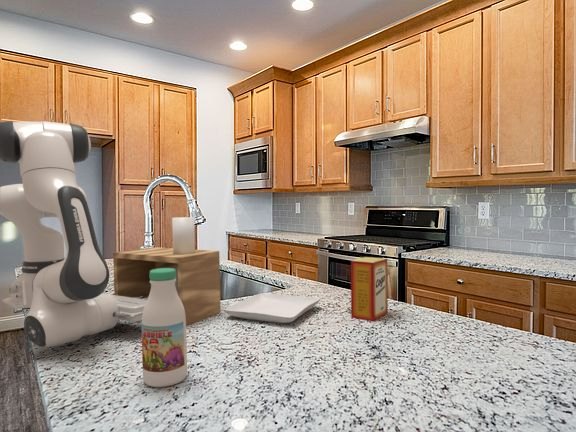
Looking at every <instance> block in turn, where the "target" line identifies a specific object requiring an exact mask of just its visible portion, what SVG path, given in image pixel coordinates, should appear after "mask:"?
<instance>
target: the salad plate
mask: <svg viewBox="0 0 576 432" xmlns="http://www.w3.org/2000/svg"><path fill="white" fill-rule="evenodd" d="M321 300H322V299H321V297H313V296H305V295H304V296H301V295H294V294H293V295H292V294H280V293H279V294H277V293H276V294H275V293H262V292H261V293H257V294H255V295H253V296H250V297H247V298H245V299H243V300H241V301H239V302H237V303H234V304H232V305H230V306H228V307H227V308H225V309H224V311H225V312H226V313H227V314H229V315H230V316H232V317H235V318H239V319H244V320H245V319H246V320H250V321H251V320H252V321H259V322H266V323H267V322H268V323H273V324H274V323H275V324H288V323H292V322H294V321H295V320H296V319H297V318H299V317H300V316H302V315H303V314H305V313H306V312H308V311H309V310H311V309H312V308H314V307H315V306H316V305H318V304H319V302H320V301H321Z"/></svg>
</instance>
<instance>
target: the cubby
mask: <svg viewBox="0 0 576 432" xmlns="http://www.w3.org/2000/svg"><path fill="white" fill-rule="evenodd" d="M112 253H113V255H112V257H113V260H112V261H113V287H114V289H113V291H114V294H113V295H118V296H125V297H131V298H137V297H149V294H150V290H151V283H150V278H149V273H150V270H151V269H155V268H160V267H178V296H179V298H180V300H181V302H182V304H183V306H184V310H185V317H186V327H187V326H191V325H192V324H195V323H198V322H200V321H203V320H205V319H208V318H210V317H213V316H215V315H218V314H220V313H221V310H222V309H221V275H220V274H221V272H220V271H221V269H220V267H221V265H220V263H221V262H220V261H221V260H220V258H221V257H220V250H210V249H209V250H207V249H195V253H193V254H173V247H161V246H159V247H158V246H157V247H156V246H153V247H146V248H145V247H144V248H138V249H131V250H129V249H128V250H122V251H117V252H116V251H115V252H112Z"/></svg>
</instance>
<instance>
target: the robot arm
mask: <svg viewBox="0 0 576 432" xmlns="http://www.w3.org/2000/svg"><path fill="white" fill-rule="evenodd" d="M91 147H92V143H91V138H90V136H89V134H88V130H86V129H85V128H84V127H83V126H82V125H79V124H75V123H69V124H68V123H63V122H56V121H54V122H53V121H44V120H42V121H34V120H33V121H30V120H29V121H28V120H27V121H12V120H8V121H7V120H6V121H1V122H0V160H1V161H2V162H4V163H11V164H17V163H19V171H20V172H19V173H20V177H21V179H22V183H14V184H13V183H12V184H7V185H3V186H2V185H1V186H0V215H1V216H2V217H4V218H5V219H7V220H9V221H10V222H11V223H12V224H13V225H14V226H15V227H16V228H17V230H18V231H19V234H20V235H21V239H22V243H23V252H24V261H23V262H22V265H21V273H20V275H19V276H18V277H17V278H16V279H15V280H14V281H13V282H12V283H11V286H8V293H9V294H10V296H9V297H6V298H4V299H2V303H3V304H5V305H7V306H8V307H10V308H12V309H14V310H21V309H22V310H23V309H29V308H30V309H29V310H28V312H27V314H26V316H25V317H24V320H23V328H24V332H25V335H26V337H27V338H28V340H29V341H31V343H32V344H34V345H35V346H36V347H37V346H38V347H42V348H51V347H56V346H61V345H65V344H68V343H70V342H74V341H77V340H79V339H81V338H82V337H84V336H89V335H90V336H91V335H96V334H99V333H102V332H106V331H108V330H111V329H113V328H115V327H116V325H117V323H118V322H119V320H121V321H126V322H139V321H142V314H143V310H144V307H145V304H146V302H147V300H148V297H137V298H131V297H125V296H118V295H114V294H109V293H106V292H104V291H105V290H106V288H107V286H108V284H109V280H110V269H109V267H108V263H107V262H106V260H105V257H104V256H103V254H102V252H101V249H100V247H99V244H98V243H99V242H98V240H97V236H96V232H95V227H94V223H93V220H92V216H91V213H90V207H89V205H88V196H87V194H86V192H85V190H84V189H83V188H82V187H80V186H79V185H78V182H77V176H76V175H77V174H76V169H75V163H81V162H85V161H86V160H87V159H88V158H89V154H90V152H91V149H92V148H91ZM43 218H57V219H58V221H59V222H60V227H61V231H62V233H61V232H60V231H59V230H56V229H54V228H51V227H50V226H49V227H48V226H46V225H44V224H43V223H42V222H41V219H43ZM65 249H66V255H65ZM103 292H104V293H103Z"/></svg>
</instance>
